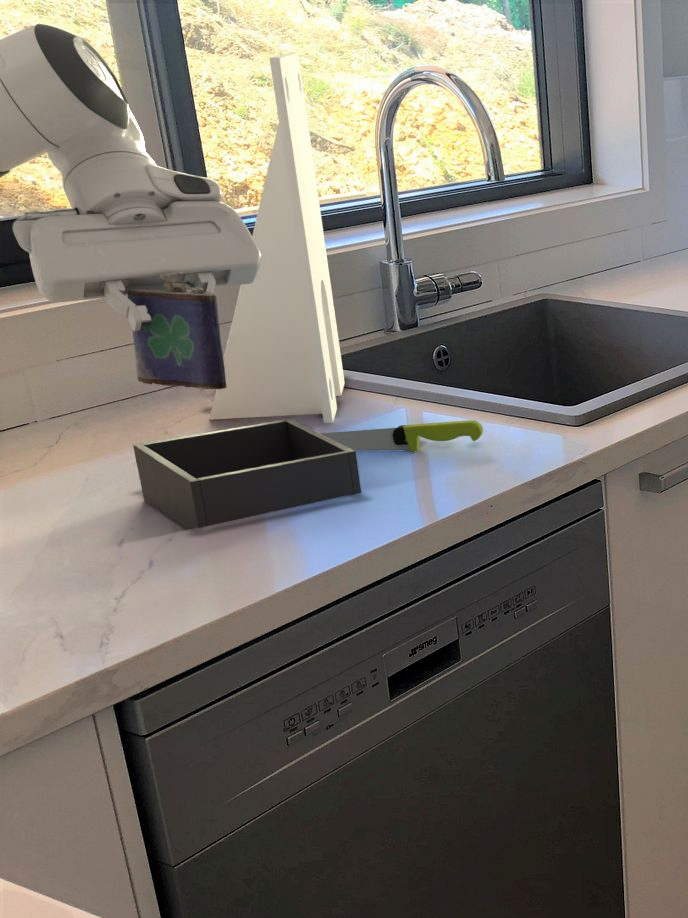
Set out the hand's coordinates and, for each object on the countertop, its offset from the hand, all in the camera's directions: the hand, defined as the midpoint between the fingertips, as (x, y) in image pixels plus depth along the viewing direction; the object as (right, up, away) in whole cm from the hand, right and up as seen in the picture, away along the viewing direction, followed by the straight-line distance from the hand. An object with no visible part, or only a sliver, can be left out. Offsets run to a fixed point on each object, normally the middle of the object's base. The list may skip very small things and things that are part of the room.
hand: (177, 322), depth 133 cm
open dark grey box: (+6, -17, +4) cm, 18 cm away
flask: (-1, -6, +2) cm, 6 cm away
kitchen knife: (+13, -10, +21) cm, 27 cm away
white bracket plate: (-6, -2, +39) cm, 39 cm away
